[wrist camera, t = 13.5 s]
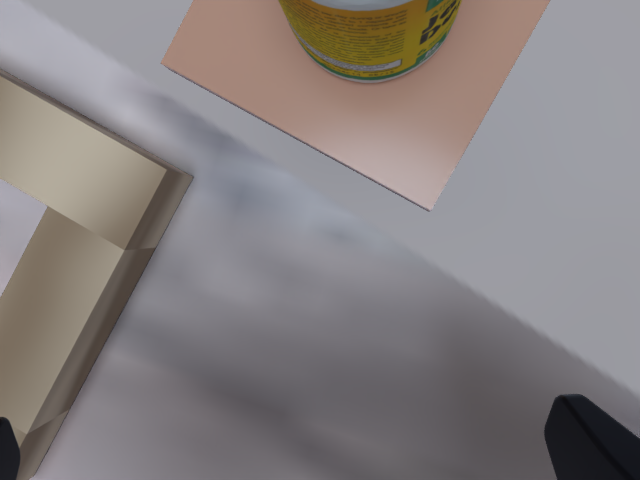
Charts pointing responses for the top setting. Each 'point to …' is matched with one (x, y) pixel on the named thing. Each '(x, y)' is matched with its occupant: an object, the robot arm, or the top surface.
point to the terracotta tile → (359, 87)
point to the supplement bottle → (370, 34)
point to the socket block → (70, 253)
